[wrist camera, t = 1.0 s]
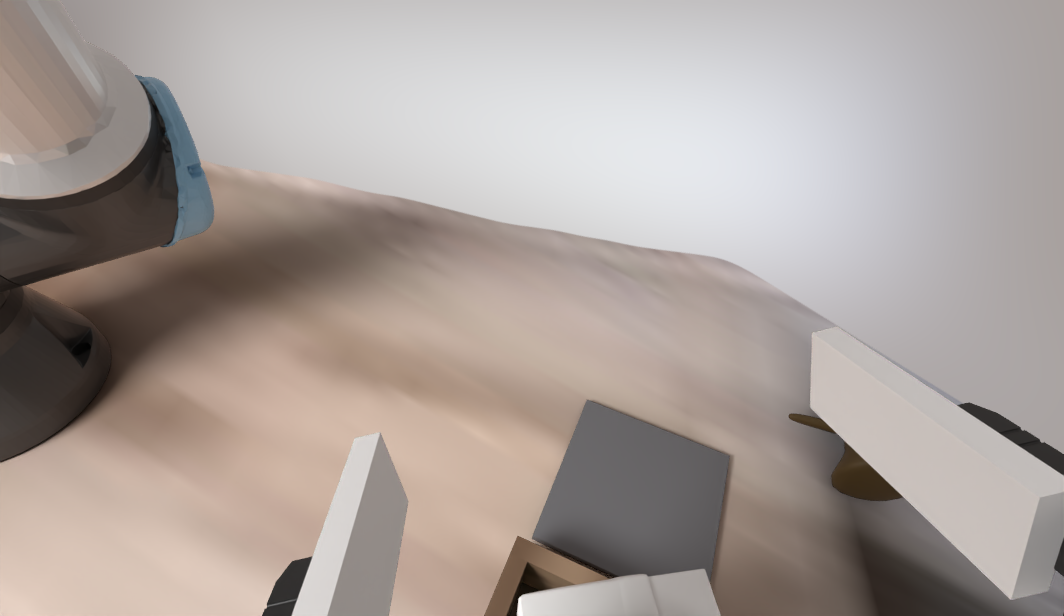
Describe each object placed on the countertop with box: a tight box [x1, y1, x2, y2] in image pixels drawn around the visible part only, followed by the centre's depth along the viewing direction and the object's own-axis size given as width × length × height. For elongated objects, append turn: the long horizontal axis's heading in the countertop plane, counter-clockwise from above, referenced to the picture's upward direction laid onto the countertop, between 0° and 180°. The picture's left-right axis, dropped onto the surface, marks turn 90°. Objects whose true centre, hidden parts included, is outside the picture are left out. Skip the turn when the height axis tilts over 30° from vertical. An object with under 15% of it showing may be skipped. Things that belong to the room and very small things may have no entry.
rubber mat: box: [532, 400, 730, 582], centre depth 41 cm, size 13×13×1 cm
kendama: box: [789, 414, 903, 501], centre depth 43 cm, size 6×10×20 cm
